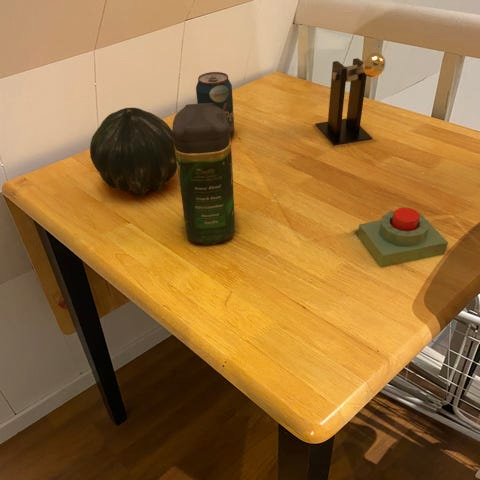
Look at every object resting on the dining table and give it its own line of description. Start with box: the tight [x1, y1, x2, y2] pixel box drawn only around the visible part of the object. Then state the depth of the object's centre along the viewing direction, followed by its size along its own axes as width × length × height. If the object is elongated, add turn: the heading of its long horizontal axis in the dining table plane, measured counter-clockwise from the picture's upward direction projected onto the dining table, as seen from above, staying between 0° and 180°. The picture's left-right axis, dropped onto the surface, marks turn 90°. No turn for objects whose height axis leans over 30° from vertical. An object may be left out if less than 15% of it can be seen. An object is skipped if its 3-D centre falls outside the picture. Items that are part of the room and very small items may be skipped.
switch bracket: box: [315, 57, 373, 147], centre depth 93 cm, size 10×8×14 cm
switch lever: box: [345, 52, 386, 83], centre depth 85 cm, size 13×4×4 cm, turn 14°
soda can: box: [195, 71, 235, 141], centre depth 96 cm, size 7×7×12 cm
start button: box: [392, 207, 420, 231], centre depth 69 cm, size 4×4×2 cm
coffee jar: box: [171, 103, 236, 245], centre depth 71 cm, size 10×8×19 cm
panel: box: [357, 210, 449, 268], centre depth 71 cm, size 10×8×4 cm
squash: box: [89, 107, 178, 197], centre depth 84 cm, size 14×15×15 cm
